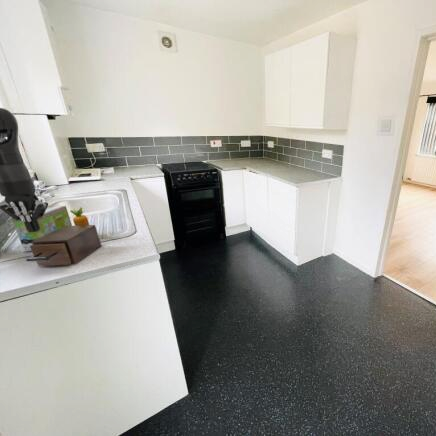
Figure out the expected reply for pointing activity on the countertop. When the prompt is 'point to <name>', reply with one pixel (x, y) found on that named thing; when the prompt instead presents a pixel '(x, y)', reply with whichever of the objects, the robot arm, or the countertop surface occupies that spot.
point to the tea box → (43, 225)
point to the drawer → (50, 254)
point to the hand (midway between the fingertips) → (34, 231)
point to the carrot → (79, 218)
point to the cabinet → (74, 240)
